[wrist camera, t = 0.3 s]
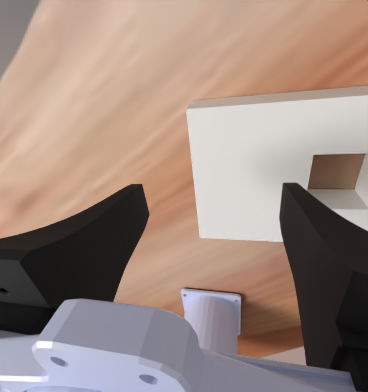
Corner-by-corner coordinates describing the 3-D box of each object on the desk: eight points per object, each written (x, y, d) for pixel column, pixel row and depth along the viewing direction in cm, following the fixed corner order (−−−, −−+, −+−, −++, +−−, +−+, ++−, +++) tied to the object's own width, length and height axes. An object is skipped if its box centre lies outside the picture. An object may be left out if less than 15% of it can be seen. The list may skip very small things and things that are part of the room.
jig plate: (377, 224, 22) (394, 247, 19) (203, 218, 25) (200, 237, 23) (435, 79, 15) (472, 86, 13) (193, 100, 19) (186, 109, 16)
